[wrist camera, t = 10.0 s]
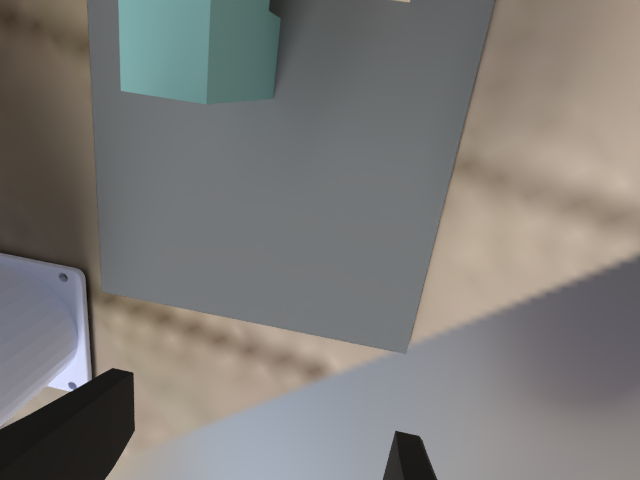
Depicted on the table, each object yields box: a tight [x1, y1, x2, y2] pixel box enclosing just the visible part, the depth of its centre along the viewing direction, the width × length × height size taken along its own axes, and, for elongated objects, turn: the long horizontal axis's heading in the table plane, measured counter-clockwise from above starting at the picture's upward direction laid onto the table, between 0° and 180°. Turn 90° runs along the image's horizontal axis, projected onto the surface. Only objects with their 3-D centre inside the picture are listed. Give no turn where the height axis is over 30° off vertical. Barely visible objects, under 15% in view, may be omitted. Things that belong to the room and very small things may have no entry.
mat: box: [87, 0, 495, 354], centre depth 18 cm, size 16×20×1 cm
